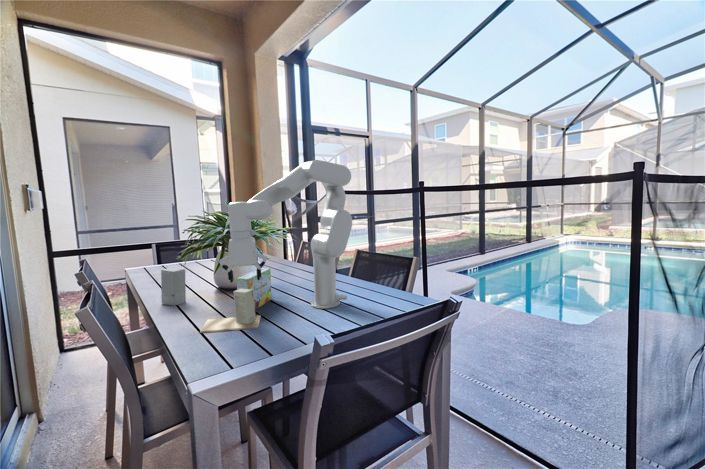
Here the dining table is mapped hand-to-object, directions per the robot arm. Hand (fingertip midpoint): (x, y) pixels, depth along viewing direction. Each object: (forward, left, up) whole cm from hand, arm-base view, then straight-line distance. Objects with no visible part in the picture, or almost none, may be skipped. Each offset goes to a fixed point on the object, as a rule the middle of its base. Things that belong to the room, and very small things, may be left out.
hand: (245, 280), depth 128 cm
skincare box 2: (+1, 0, -16) cm, 16 cm away
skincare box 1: (+36, -34, -17) cm, 52 cm away
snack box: (-1, -20, -17) cm, 26 cm away
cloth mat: (+6, 0, -17) cm, 17 cm away
